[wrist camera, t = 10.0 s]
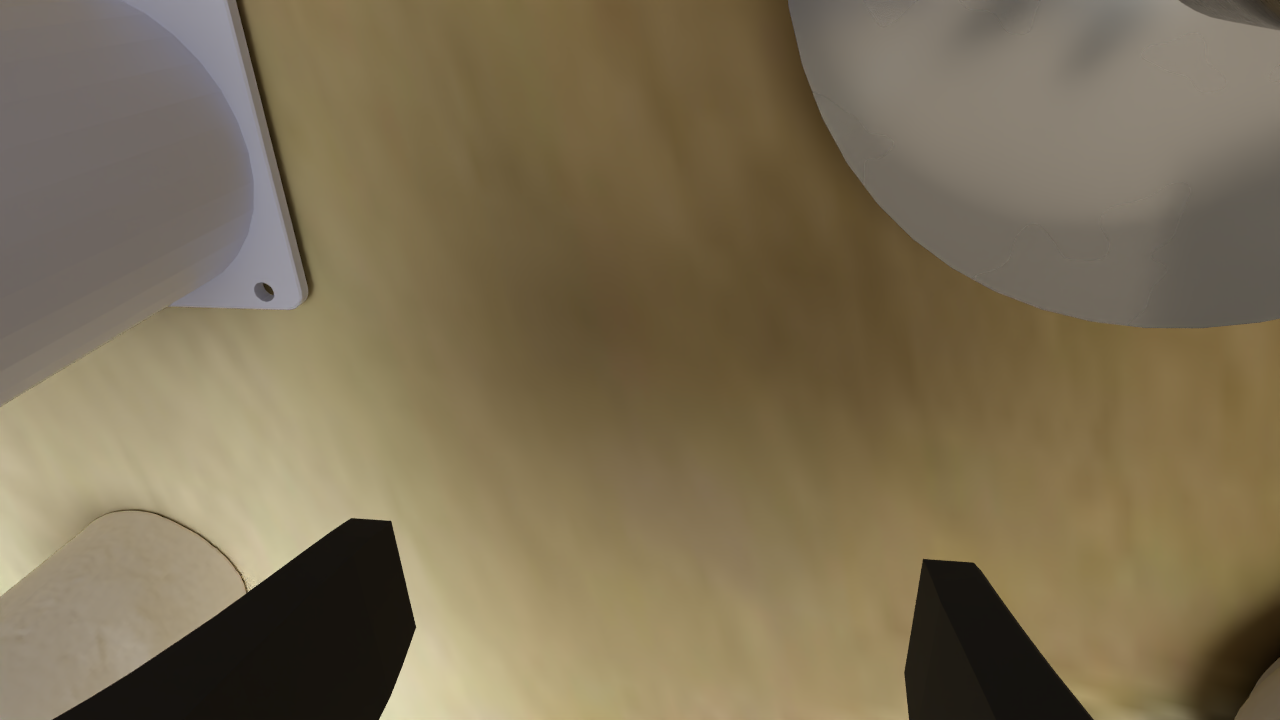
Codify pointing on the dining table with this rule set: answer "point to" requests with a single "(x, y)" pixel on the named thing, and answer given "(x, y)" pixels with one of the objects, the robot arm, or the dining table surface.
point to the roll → (105, 610)
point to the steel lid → (1068, 145)
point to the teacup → (1263, 697)
